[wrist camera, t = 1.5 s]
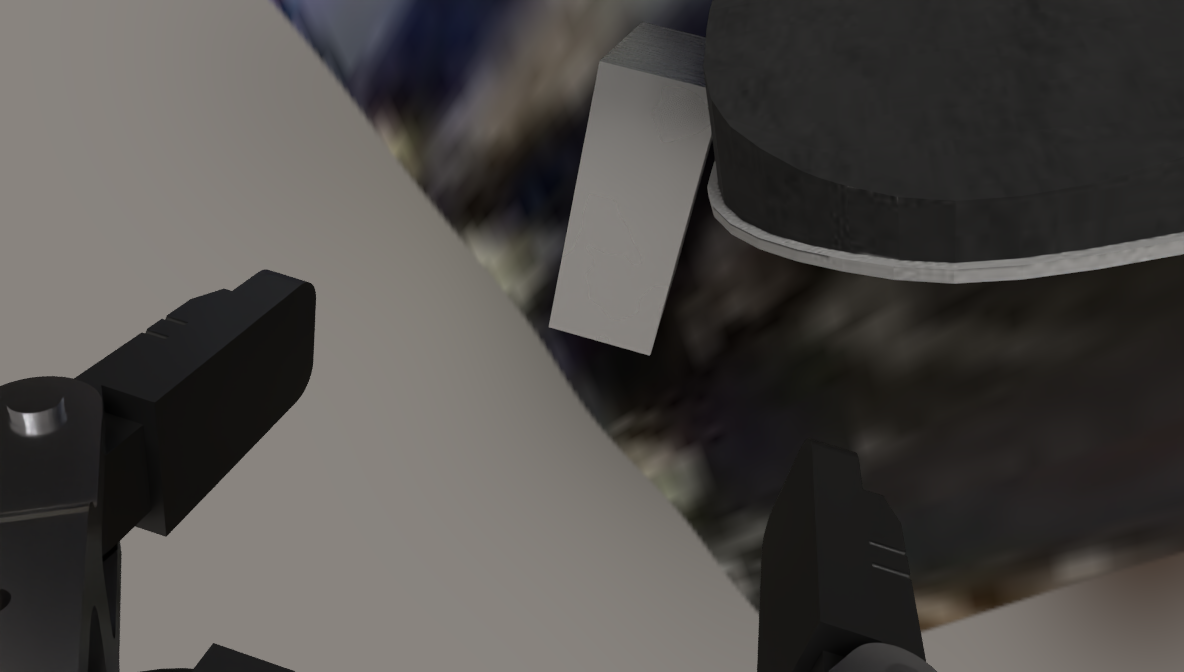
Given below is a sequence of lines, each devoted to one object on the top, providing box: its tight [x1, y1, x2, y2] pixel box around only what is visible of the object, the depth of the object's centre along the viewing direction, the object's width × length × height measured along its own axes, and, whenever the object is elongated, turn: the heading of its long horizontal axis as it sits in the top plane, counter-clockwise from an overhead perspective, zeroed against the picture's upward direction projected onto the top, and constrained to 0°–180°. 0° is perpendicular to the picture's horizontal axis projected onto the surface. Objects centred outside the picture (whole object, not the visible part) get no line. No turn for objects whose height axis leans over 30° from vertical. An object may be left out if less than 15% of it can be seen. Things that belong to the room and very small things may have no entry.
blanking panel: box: [549, 22, 712, 356], centre depth 22 cm, size 7×3×6 cm, turn 169°
